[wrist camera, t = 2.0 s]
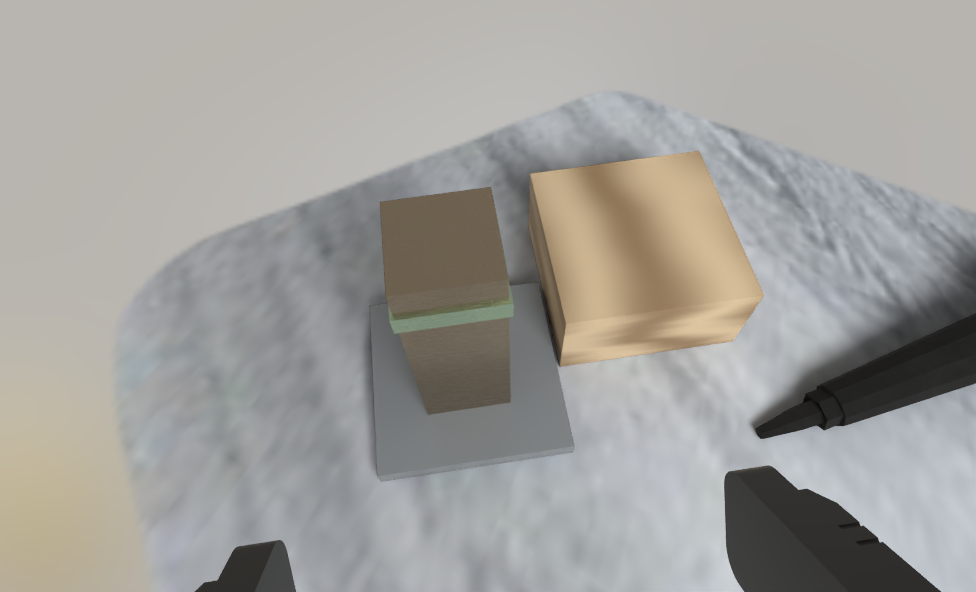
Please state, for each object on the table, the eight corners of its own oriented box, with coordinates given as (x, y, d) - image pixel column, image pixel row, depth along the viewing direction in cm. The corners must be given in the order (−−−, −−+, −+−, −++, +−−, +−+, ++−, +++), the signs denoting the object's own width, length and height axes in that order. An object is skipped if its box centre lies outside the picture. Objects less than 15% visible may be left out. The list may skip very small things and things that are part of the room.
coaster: (537, 290, 36) (538, 281, 36) (572, 452, 31) (574, 446, 30) (373, 314, 36) (369, 305, 35) (380, 481, 31) (377, 476, 30)
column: (500, 327, 34) (494, 183, 24) (514, 404, 32) (513, 282, 21) (418, 338, 34) (376, 199, 24) (425, 418, 31) (381, 300, 21)
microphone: (761, 480, 33) (1089, 350, 34) (810, 491, 28) (1203, 336, 28) (718, 387, 34) (1036, 263, 35) (757, 379, 29) (1135, 232, 29)
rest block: (679, 206, 39) (699, 150, 35) (733, 341, 34) (764, 295, 30) (528, 227, 39) (530, 173, 35) (559, 366, 34) (566, 324, 29)
